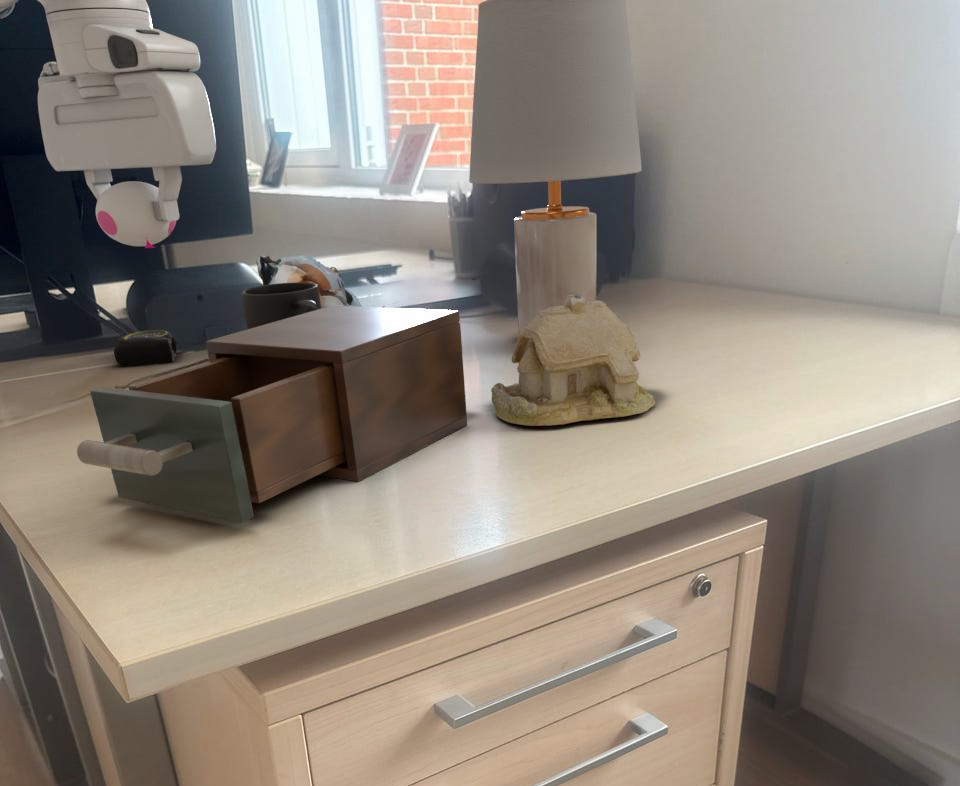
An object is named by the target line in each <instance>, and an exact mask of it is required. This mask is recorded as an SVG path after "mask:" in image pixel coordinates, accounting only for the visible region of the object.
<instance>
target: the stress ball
mask: <svg viewBox="0 0 960 786" xmlns="http://www.w3.org/2000/svg"><path fill="white" fill-rule="evenodd" d="M158 191H159V187H157V186H155V185H153V184H151V183H148V182H143V181H138V180H127V181H122V182H118V183H116V184H113V185H111V187H109V188H108V189H107V190H105V191H104V192H103V193H102V195H101V196H100V197H99V199H98V200H96V205H95V217H96V221H97V223H98V225H99V227H100V228H101V230H102V231H103V232H104V233H105V235H107V236H108V237H109V238H110V239H112V240H114V241H116V242H118V243H120V244H123V245H125V246H126V245H127V246H131V247H144V249H154V248H156V247H157V246H155V245H156V244H158V243H160V242H162V241H164V240H165V239H166V238H168V237H169V236H170V235H171V234H172V232H173V231H174V229H175V227H176V224H177V221H158V220H156V218H155V211H154V209H153V204H152V202H153V201H158Z"/></svg>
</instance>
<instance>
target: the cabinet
mask: <svg viewBox="0 0 960 786" xmlns="http://www.w3.org/2000/svg"><path fill="white" fill-rule="evenodd" d="M460 318H461V317H460V310H451V309H449V310H448V309H429V308H428V309H426V308H404V307H403V308H401V307H379V306H362V307H358V306H335V305H333V306H329V307H325V308H322V309H318V310H315V311H311V312H308V313H304V314H301V315H297V316H294V317H290V318H286V319H283V320H279V321H276V322H272V323H269V324H265V325H262V326H258V327H254V328H251V329H248V328H247V329H244V330H240V331H237V332H234V333H230V334H227V335H223V336H222V335H221V336H219V337H215V338H212V339H208V340H206V341H205V346H206V352H207V357H208V362H210V361H213V360H216V359H219V358H223V357H226V356H229V355H243V356H256V357H268V358H280V359H292V360H305V361H317V362H329V363H333V365H334V372H335V379H336V386H337V394H338V401H339V408H340V415H341V422H342V429H343V437H344V444H345V451H346V458H347V461H346V462H343V463H341V464H339V465H337V466H335V467H333V468H331V469H329V470H327V471H325V472H323V473H321V474H319V475H318V476H321V477H327V478H333V479H339V480H347V481H352V482H361V481H363V480H364V479H366V478H368V477H370V476H372V475H374V474H376V473H378V472H380V471H382V470H383V469H385V468H388V467H390V466H392V465H393V464H395V463H397V462H399V461H401V460H403V459H405V458H407V457H408V456H409V457H410V456H411V455H412V454H414V453H416V452H419V451H420V450H422V449H424V448H426V447H428V446H430V445H432V444H434V443H435V442H437V441H439V440H441V439H443V438H445V437H447V436H449V435H451V434H453V433H455V432H457V431H458V430H459V431H460V430H461V429H463V428H464V427H466V426H468V416H467V414H468V413H467V400H466V387H465V371H464V359H463V356H464V355H463V344H462V343H463V342H462V330H461V329H462V328H461V319H460Z"/></svg>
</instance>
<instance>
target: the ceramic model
mask: <svg viewBox="0 0 960 786" xmlns="http://www.w3.org/2000/svg"><path fill="white" fill-rule="evenodd" d="M640 359H641V352H640V350H639V347H638V342H637V340H636V337H635V335H634V333H633V332H632V330H631V328H630V327H629V326H627V325H625V324H624V323H623V322H622V321H621V320H620V319H619V317H617V316H616V314H615V313H614V312H613V311H612V310H611V309H610V308H609V307H608V306H607V303H606V302H605V301H602V300H597V301H588V302H585V298H584V297H583V296H582V295H578V294H574V295H568V296H567V299H566V304H565V306H555V307H550V308H547V309H545V310H540V311H539V314H538V315H537V316H536V317H535V318H534V320H533V321H532V322H531V323H529V324H528V325H527V327H524V328H523V329H522V331H521V332H520V334H519V333H518V337H517V340H516V342H515V346H514V348H513V350H512V355H511V363H512V364H518V365H517V368H516V369H517V370H516V371H517V372H518V383H514V384H510V385H506V386H505V385H504V384H503V383H501V382H497V383H495V384H494V385H493V386H492V387H491V390H490V392H491V402H492V403H491V404H492V405H493V406H494V410H495V411H494V412H496V417H498V418H499V419H500V420H503V421H504V422H506V423H510V424H515V425H522V426H531V427H532V426H533V427H535V426H536V427H537V426H538V427H539V426H540V427H541V426H558V425H566V424H571V423H576V422H580V421H581V422H582V421H583V422H584V421H593V420H600V419H610V418H622V417H628V416H633V415H637V414H643V413H645V412H648V411H649V409H650V410H651V408H652V407H654V406H655V404H656V401H655V399H654V396H653V395H652V394H650V393H649V392H648V391H647V390H646V389H645V388H644V387H643V386H641V385H639V384H638V383H637V381H638V379H639V376H640V372H639V370H638V367H637V366H636V364H635V362H637V361H639V360H640Z"/></svg>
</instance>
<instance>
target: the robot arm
mask: <svg viewBox="0 0 960 786" xmlns="http://www.w3.org/2000/svg"><path fill="white" fill-rule="evenodd" d="M19 1H20V0H0V20H2V18H4V17H5V16H6V14H8V12H9V11H10V9H11V7H12V6H13V5H15V4H17V2H19ZM37 2H39V3H40V4H41V5H42V6H43V8H44V12H45V16H46V17H45V18H46V21H47V24H48V29H49V33H50V37H51V42H52V46H53V51H54V56H55V59H56V60H55V61H48V62H46V63H44V64H43V66H42V71H41V72H40V75H39V77H38V79H37V85H38V92H37V107H38V108H37V109H38V117H39V124H40V130H41V136H42V141H43V146H44V153H45V155H46V158H47V161H48V162H49V164H50V166H51V167H52V168H53V170H54V171H56V172H75V171H76V172H77V171H83V174H84V178H85V182H86V185H87V186H88V188H89V190H90V191H91V192H92V194H93V196H94V198H95V199H96V201H98V199H99V197H100V196H101V195H102V193H103V192H104V191H105V190H107V189H108V188H109V187H111V186H112V185H111V183H112V182H114V181H113V180H114V179H113V175H112V170H119V169H121V170H122V169H140V168H141V169H142V168H151V169H152V173H153V178H154V180H155V181H156V182H159V184H158V188H159V191H158V201H153V202H152V204H153V209H154V211H155V218H156V220H158V221H176V222H177V221H179V220H180V211H179V206H178V199H179V194H180V192H181V191H180V190H181V187H182V181H183V176H182V171H181V170H182V169H181V167H186V166H202V165H210V164H212V163H213V161H214V158H215V154H216V151H217V140H216V135H215V134H216V133H215V126H214V121H213V116H212V111H211V106H210V101H209V97H208V93H207V90H206V87H205V85H204V83H203V80H202V79H201V78H200V77H199V76H198V75H197V74H196V73H194V72H196V71H197V72H198V70H199V69H201V56H200V51H199V47H198V46H197V44H196V43H194V42H193V41H190V40H187V39H184V38H181V37H179V36H176V35H173V34H171V33H168V32H165V31H163V30H161V29H158V28H154V27H153V22H152V16H151V11H150V6H149V4H148V2H147V0H37Z"/></svg>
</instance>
